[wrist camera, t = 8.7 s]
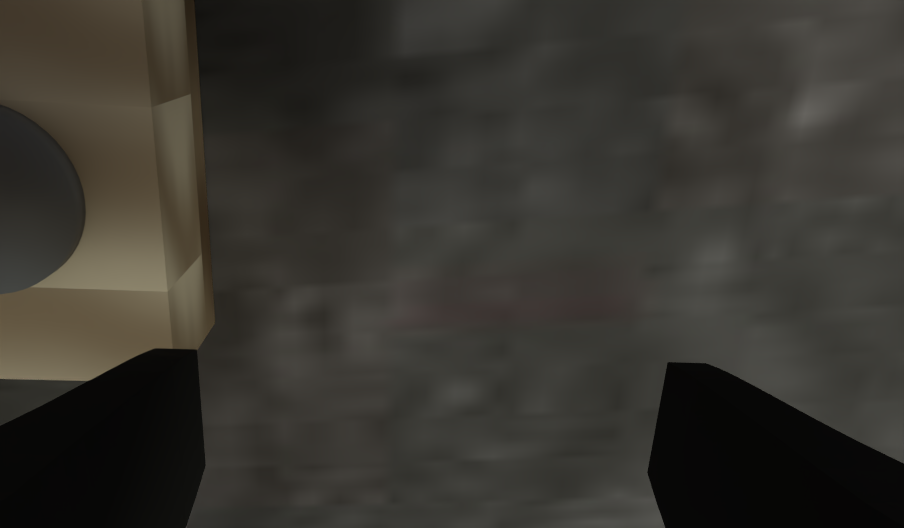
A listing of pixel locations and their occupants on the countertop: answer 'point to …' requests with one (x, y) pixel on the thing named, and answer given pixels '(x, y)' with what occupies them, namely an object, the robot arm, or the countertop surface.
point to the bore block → (100, 186)
